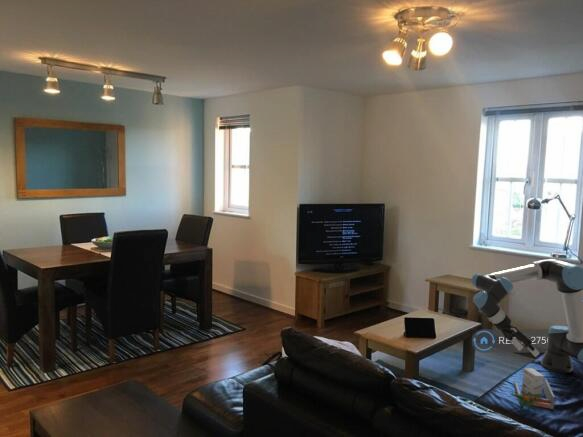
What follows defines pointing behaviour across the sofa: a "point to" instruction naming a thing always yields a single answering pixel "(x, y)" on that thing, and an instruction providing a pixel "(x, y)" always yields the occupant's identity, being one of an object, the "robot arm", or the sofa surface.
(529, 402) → the figurine
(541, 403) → the trap channel
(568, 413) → the sofa surface
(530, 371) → the ink box
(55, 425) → the sofa surface
